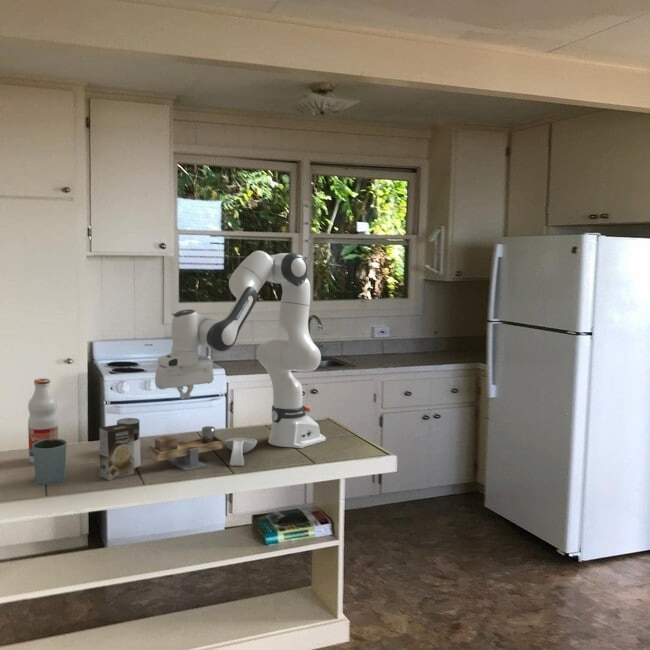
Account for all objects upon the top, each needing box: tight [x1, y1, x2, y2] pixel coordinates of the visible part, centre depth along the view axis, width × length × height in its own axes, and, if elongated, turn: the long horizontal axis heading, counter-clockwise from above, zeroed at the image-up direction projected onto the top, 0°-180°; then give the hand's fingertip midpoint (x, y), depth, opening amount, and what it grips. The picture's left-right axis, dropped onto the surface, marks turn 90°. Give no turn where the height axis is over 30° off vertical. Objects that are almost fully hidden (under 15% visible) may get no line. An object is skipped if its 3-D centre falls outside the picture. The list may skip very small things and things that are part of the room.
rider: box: [154, 434, 178, 452], centre depth 238 cm, size 6×5×4 cm
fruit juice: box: [27, 378, 59, 464], centre depth 241 cm, size 9×9×28 cm
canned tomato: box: [116, 417, 141, 440], centre depth 255 cm, size 8×8×11 cm
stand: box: [166, 439, 207, 472], centre depth 243 cm, size 8×14×6 cm, turn 37°
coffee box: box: [99, 424, 135, 481], centre depth 229 cm, size 9×6×16 cm
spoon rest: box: [224, 437, 258, 467], centre depth 253 cm, size 24×12×7 cm, turn 3°
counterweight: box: [201, 425, 216, 444], centre depth 247 cm, size 4×4×5 cm
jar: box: [134, 429, 141, 469], centre depth 238 cm, size 9×8×12 cm
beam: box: [148, 435, 223, 462], centre depth 242 cm, size 24×9×3 cm, turn 127°
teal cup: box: [32, 438, 67, 486], centre depth 223 cm, size 10×10×12 cm
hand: (185, 398), depth 240 cm, fingers closed
